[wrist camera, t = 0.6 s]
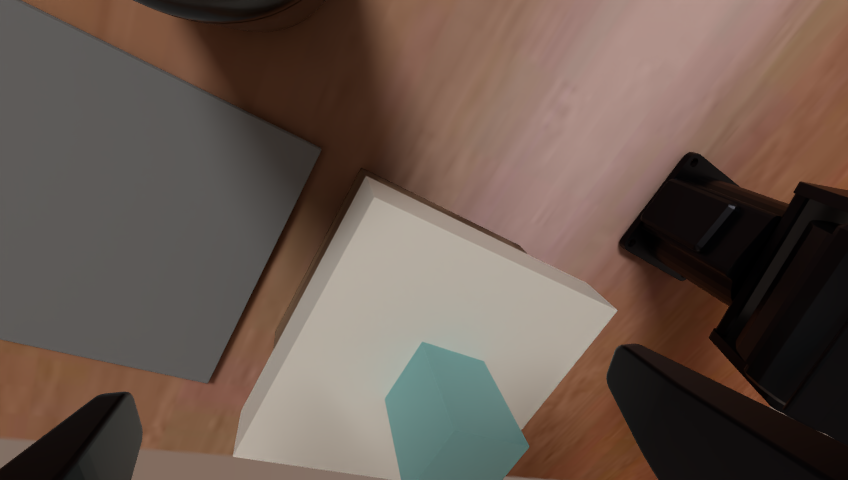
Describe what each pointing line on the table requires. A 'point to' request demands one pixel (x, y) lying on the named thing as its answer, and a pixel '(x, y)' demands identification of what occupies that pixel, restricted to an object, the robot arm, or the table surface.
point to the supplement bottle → (239, 12)
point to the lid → (417, 349)
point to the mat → (129, 201)
